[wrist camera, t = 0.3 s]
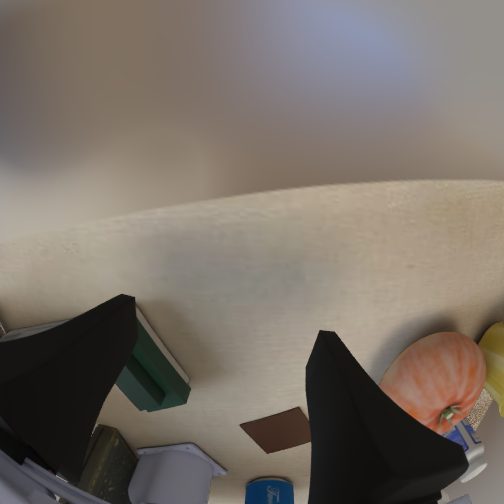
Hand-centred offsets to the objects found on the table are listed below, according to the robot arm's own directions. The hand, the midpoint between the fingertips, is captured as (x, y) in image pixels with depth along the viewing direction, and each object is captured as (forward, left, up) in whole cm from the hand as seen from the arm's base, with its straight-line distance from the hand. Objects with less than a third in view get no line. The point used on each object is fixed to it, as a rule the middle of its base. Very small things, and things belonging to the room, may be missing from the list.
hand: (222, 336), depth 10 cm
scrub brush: (-11, -3, -10) cm, 15 cm away
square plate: (-5, -18, -10) cm, 22 cm away
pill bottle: (+14, -34, -10) cm, 38 cm away
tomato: (+10, -17, -10) cm, 22 cm away
